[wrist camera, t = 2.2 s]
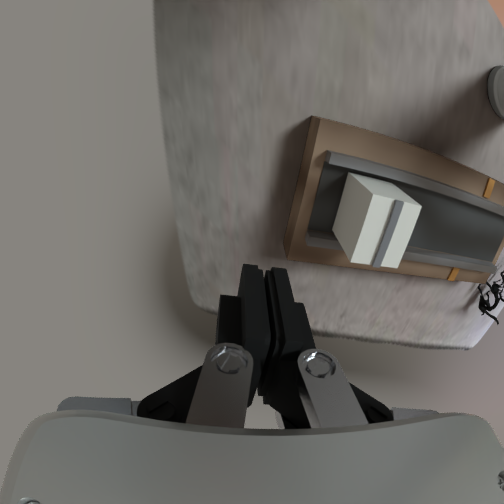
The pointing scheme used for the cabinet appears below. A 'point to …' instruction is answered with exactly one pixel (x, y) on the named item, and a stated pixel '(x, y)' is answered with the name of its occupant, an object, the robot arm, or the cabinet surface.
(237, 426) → the robot arm
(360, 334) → the cabinet surface
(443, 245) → the fader console
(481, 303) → the creature
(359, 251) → the fader tab
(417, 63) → the cabinet surface
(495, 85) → the travel mug
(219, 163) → the cabinet surface
